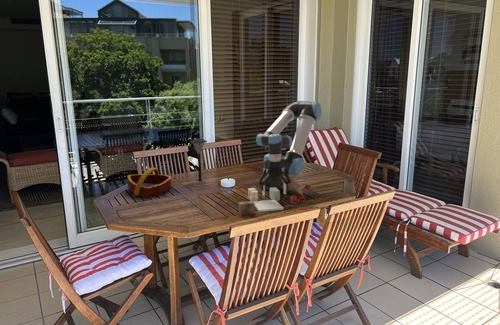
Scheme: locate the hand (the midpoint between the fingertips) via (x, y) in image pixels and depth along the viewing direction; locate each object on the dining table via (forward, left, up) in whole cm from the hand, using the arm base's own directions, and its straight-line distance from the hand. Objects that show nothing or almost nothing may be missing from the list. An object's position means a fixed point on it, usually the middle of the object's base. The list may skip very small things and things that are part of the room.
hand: (274, 194), depth 223 cm
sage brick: (0, 0, -3) cm, 3 cm away
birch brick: (-2, -13, -3) cm, 13 cm away
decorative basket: (-40, -74, -3) cm, 84 cm away
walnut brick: (+19, -22, -3) cm, 29 cm away
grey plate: (+12, -8, -3) cm, 14 cm away
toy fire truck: (+9, +13, -3) cm, 16 cm away
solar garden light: (-53, -39, -3) cm, 66 cm away
